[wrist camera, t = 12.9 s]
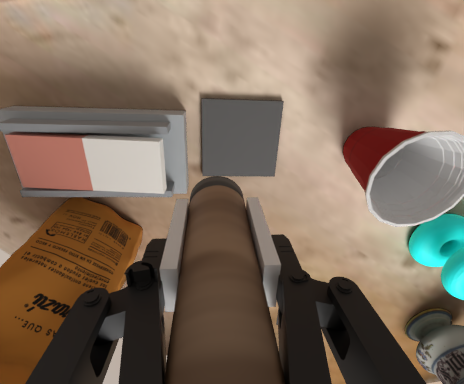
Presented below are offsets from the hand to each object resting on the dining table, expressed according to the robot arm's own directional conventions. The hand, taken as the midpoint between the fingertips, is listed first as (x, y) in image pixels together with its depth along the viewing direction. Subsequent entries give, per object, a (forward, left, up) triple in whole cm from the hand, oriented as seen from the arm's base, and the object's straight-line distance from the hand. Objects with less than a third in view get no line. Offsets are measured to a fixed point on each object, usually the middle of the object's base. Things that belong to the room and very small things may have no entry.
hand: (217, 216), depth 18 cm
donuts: (-16, -37, -19) cm, 45 cm away
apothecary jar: (-39, -45, -19) cm, 62 cm away
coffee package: (-14, +17, -19) cm, 29 cm away
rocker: (-1, +14, -14) cm, 19 cm away
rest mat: (0, -3, -18) cm, 19 cm away
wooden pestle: (0, 0, -2) cm, 2 cm away
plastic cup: (-1, -20, -19) cm, 28 cm away
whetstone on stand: (-1, +14, -18) cm, 23 cm away
